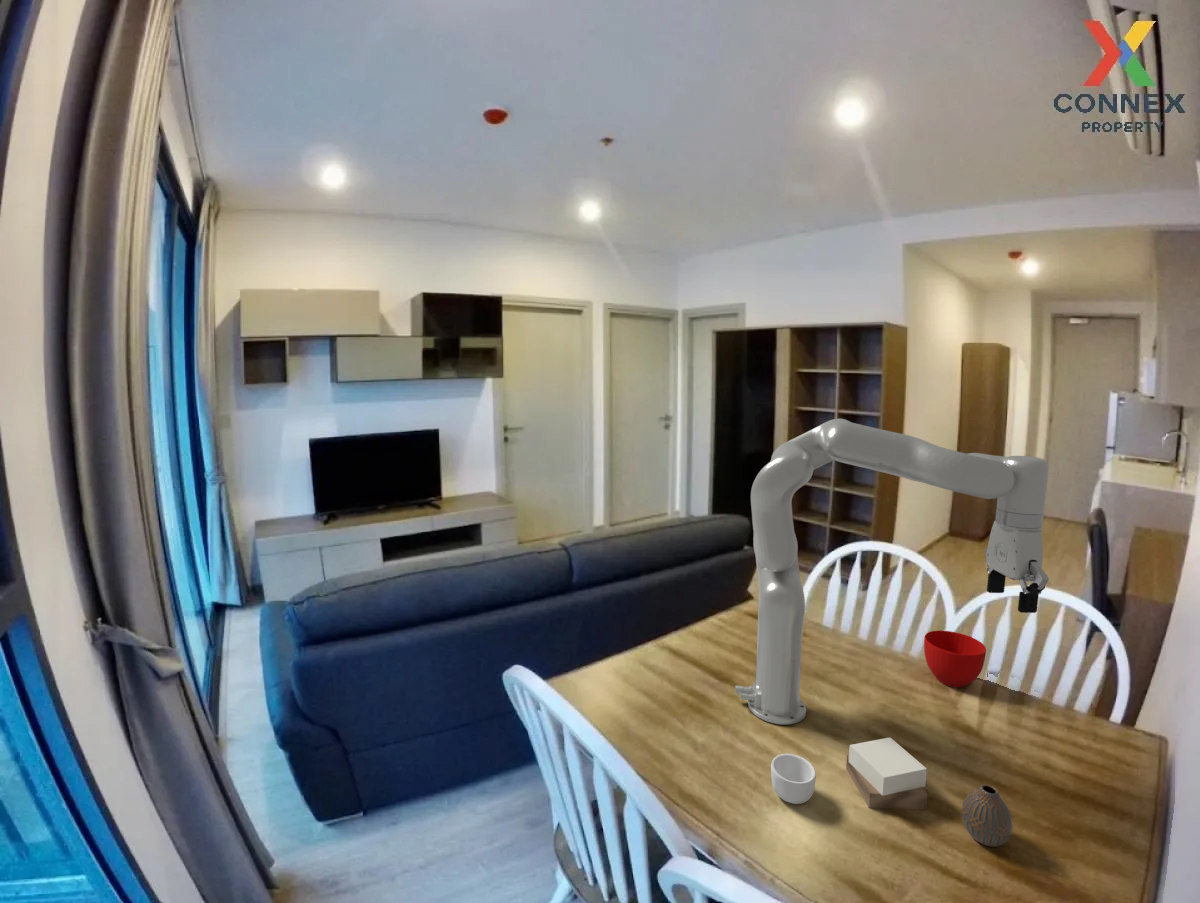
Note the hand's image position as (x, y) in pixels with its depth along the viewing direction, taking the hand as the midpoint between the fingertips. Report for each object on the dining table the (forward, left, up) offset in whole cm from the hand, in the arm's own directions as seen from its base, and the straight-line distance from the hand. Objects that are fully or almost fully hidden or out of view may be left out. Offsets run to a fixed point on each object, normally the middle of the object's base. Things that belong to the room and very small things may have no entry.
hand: (1010, 601), depth 115 cm
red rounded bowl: (+1, +25, -30) cm, 39 cm away
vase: (-14, -28, -30) cm, 44 cm away
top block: (-27, -19, -27) cm, 43 cm away
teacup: (-44, -23, -30) cm, 58 cm away
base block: (-27, -19, -31) cm, 45 cm away
